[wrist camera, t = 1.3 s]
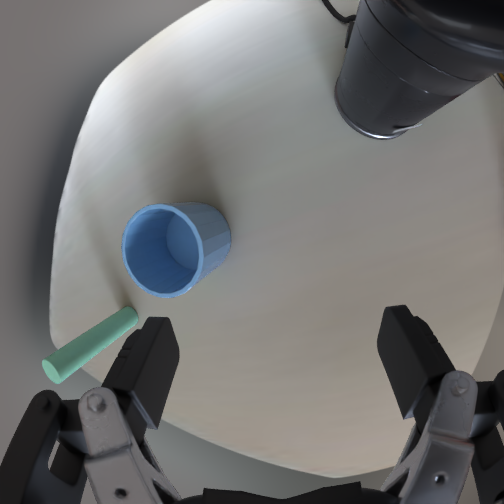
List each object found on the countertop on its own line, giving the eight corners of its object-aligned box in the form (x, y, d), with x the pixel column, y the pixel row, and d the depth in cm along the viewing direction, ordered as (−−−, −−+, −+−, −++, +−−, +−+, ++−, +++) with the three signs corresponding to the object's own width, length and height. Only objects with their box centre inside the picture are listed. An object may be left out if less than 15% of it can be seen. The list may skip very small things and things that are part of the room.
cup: (172, 196, 31) (128, 196, 22) (237, 210, 30) (212, 215, 21) (161, 262, 32) (118, 282, 24) (223, 280, 31) (194, 309, 23)
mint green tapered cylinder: (122, 303, 35) (39, 354, 19) (138, 310, 34) (57, 367, 19) (121, 320, 35) (44, 375, 20) (137, 327, 35) (62, 388, 19)
